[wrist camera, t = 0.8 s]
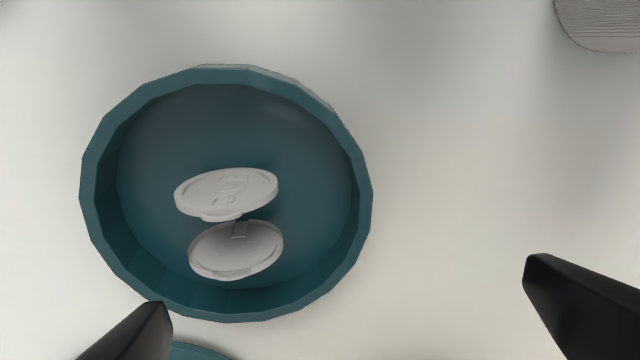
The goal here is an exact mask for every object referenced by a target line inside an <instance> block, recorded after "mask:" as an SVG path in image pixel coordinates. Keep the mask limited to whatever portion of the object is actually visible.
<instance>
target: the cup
mask: <svg viewBox="0 0 640 360" xmlns="http://www.w3.org/2000/svg"><path fill="white" fill-rule="evenodd" d="M554 4H555V9H556V12H557V15H558V16H557V17H558V19H559V21H560V23H561V25H562V27H563V29H564V31H565V32H567V33H566V34H568V35H569V36H570V38H571V39H572V40H573V41H575V42H576V43H577V44H578V45H581V46H582V47H584V48H586V49H589V50H593V51H599V52H610V53H630V54H640V0H555V1H554Z"/></svg>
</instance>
